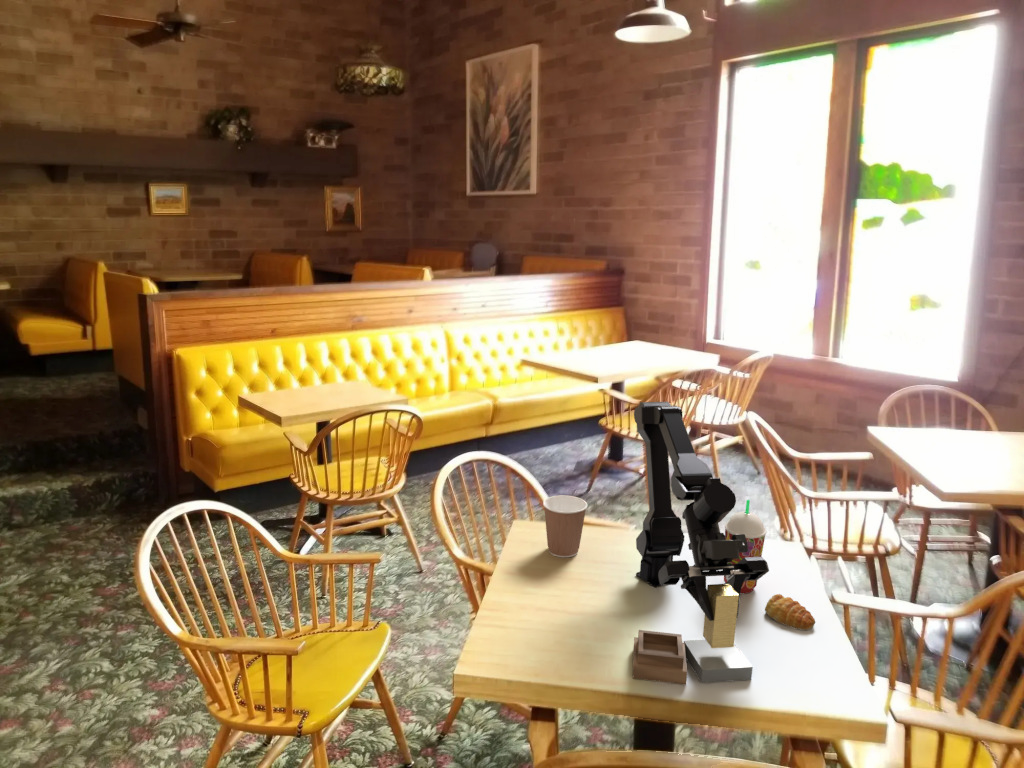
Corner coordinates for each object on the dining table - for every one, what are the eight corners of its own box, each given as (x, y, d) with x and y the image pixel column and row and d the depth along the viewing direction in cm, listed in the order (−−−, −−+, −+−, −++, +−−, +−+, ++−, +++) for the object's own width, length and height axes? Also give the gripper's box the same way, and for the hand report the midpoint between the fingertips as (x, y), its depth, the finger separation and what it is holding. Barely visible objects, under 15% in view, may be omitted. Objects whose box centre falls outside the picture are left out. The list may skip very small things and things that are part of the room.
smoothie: (717, 592, 161) (725, 504, 156) (722, 575, 168) (730, 490, 164) (758, 600, 158) (767, 510, 153) (761, 582, 165) (770, 496, 161)
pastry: (821, 625, 149) (824, 608, 148) (802, 636, 145) (804, 619, 144) (780, 605, 157) (782, 588, 156) (760, 615, 153) (762, 598, 152)
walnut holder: (633, 649, 139) (634, 627, 138) (683, 655, 138) (685, 632, 137) (632, 678, 131) (634, 655, 130) (686, 684, 129) (688, 661, 128)
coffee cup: (589, 545, 182) (591, 498, 179) (579, 564, 172) (582, 514, 169) (547, 539, 185) (549, 492, 182) (536, 556, 175) (537, 508, 172)
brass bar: (702, 635, 135) (707, 584, 133) (724, 634, 136) (729, 583, 134) (711, 648, 132) (716, 596, 129) (733, 646, 132) (738, 594, 130)
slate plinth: (682, 653, 139) (683, 640, 138) (729, 650, 140) (730, 637, 139) (701, 683, 130) (702, 670, 129) (751, 679, 131) (752, 666, 131)
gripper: (668, 519, 131) (686, 610, 123) (769, 515, 134) (794, 603, 126) (650, 541, 141) (666, 627, 133) (745, 537, 143) (767, 621, 135)
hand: (723, 619), depth 131 cm, fingers closed on brass bar, 4 cm apart
